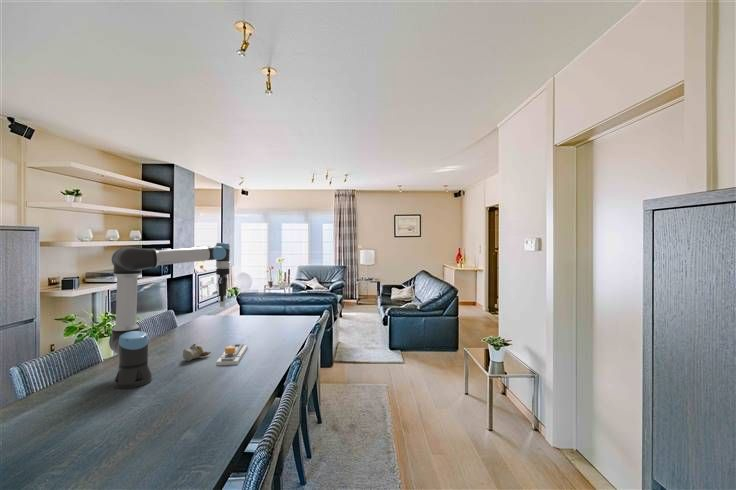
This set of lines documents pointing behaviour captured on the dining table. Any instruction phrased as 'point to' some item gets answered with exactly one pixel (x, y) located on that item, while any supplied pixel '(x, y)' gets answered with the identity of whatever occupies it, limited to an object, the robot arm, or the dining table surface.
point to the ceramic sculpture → (194, 353)
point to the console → (235, 357)
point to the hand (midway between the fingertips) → (222, 306)
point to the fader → (230, 351)
